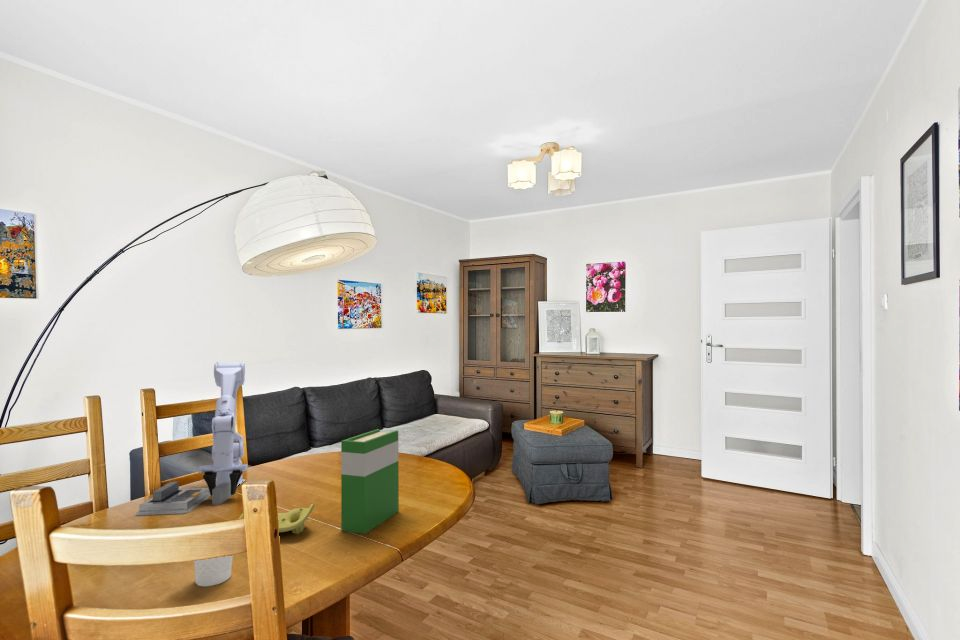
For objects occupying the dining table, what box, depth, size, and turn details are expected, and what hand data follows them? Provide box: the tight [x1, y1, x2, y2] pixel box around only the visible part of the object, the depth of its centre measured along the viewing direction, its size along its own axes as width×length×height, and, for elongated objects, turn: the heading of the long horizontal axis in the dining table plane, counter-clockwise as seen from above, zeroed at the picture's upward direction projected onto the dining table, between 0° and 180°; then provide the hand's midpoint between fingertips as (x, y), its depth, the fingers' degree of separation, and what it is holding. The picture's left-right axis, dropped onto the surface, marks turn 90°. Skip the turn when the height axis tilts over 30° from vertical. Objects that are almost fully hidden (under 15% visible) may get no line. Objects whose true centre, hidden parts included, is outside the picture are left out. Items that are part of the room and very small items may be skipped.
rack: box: [136, 481, 212, 517], centre depth 151 cm, size 16×14×6 cm
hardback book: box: [340, 428, 400, 535], centre depth 137 cm, size 18×7×24 cm, turn 159°
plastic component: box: [238, 503, 315, 535], centre depth 130 cm, size 20×7×10 cm
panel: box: [211, 480, 233, 506], centre depth 157 cm, size 10×2×5 cm, turn 6°
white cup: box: [193, 554, 234, 587], centre depth 104 cm, size 8×8×10 cm
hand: (223, 494), depth 157 cm, fingers open, 6 cm apart
